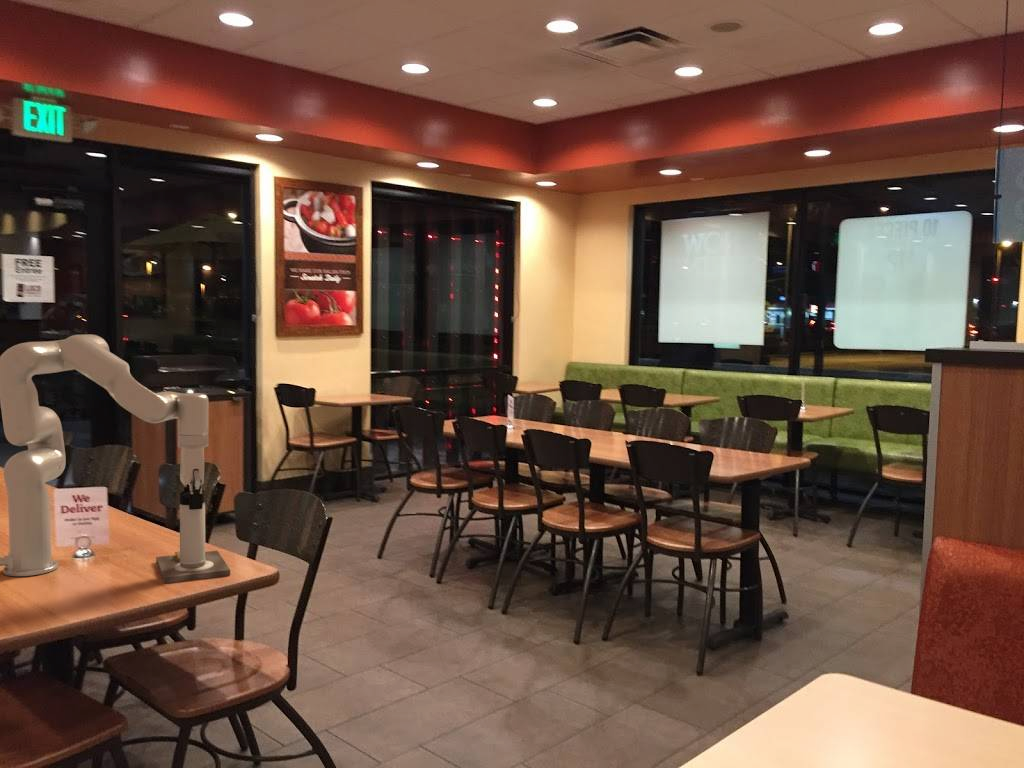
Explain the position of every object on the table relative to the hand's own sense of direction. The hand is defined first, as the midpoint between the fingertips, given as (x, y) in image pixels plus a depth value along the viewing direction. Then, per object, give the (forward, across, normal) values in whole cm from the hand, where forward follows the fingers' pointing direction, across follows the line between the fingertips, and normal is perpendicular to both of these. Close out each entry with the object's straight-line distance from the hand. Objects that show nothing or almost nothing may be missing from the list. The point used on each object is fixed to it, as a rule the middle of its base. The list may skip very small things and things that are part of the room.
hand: (193, 505), depth 221 cm
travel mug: (+16, 0, 0) cm, 16 cm away
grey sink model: (+18, -3, 0) cm, 18 cm away
